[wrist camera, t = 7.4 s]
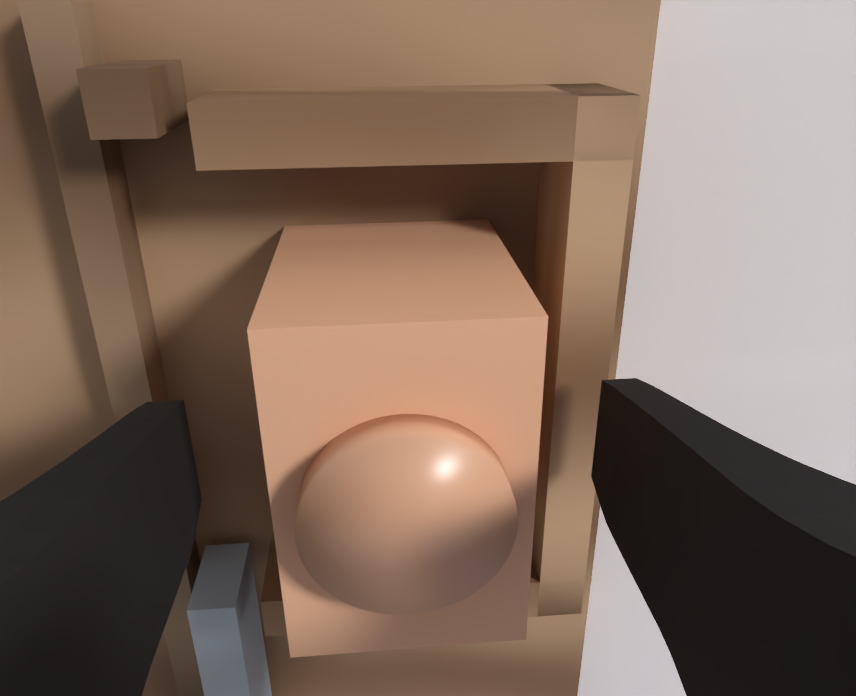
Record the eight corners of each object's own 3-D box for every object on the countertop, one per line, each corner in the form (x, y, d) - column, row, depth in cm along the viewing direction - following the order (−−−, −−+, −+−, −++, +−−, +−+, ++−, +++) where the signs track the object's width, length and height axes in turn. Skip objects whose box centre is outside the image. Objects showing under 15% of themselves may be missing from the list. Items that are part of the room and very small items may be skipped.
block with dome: (481, 469, 17) (533, 668, 11) (310, 479, 16) (286, 689, 11) (488, 219, 14) (559, 334, 9) (284, 226, 14) (239, 349, 9)
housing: (562, 737, 22) (590, 838, 19) (106, 777, 21) (68, 888, 18) (645, -7, 13) (718, -12, 10) (-142, -1, 12) (-287, -6, 9)
